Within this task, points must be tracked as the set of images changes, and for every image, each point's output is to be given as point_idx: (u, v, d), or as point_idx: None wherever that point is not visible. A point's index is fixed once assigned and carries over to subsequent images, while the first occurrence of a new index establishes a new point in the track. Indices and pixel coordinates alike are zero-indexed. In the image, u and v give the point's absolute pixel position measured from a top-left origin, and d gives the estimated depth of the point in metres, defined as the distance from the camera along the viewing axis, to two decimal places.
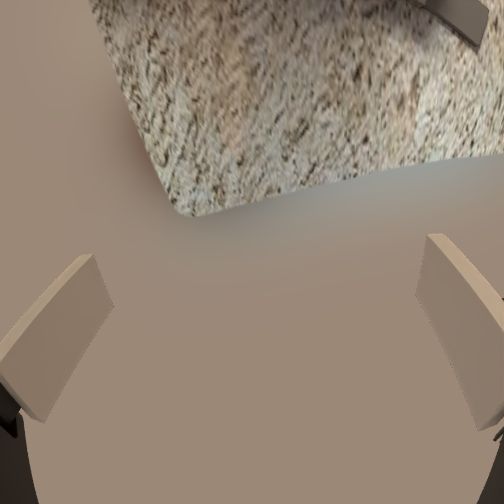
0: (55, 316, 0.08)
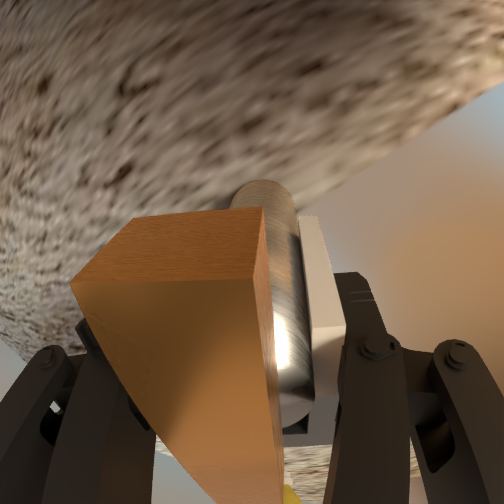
0: None
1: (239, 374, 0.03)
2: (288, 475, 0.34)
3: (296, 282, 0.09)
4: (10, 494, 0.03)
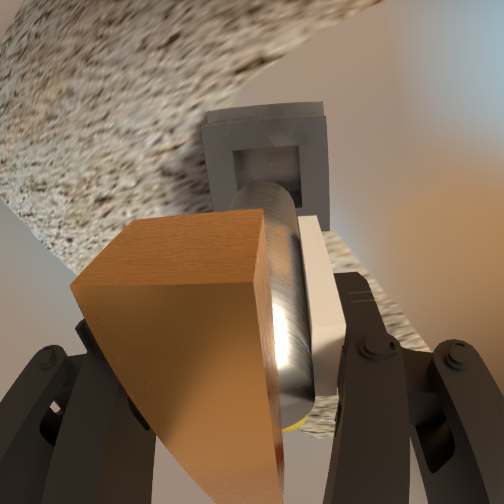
0: None
1: (240, 377, 0.03)
2: None
3: (296, 283, 0.09)
4: (10, 494, 0.03)
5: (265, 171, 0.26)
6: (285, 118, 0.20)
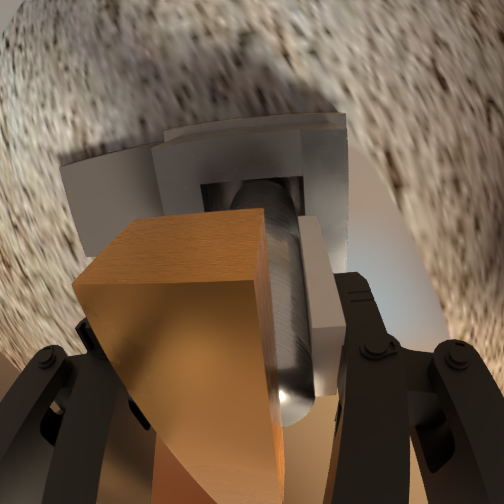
0: None
1: (240, 374, 0.03)
2: None
3: (296, 282, 0.09)
4: (10, 494, 0.03)
5: None
6: (345, 250, 0.15)
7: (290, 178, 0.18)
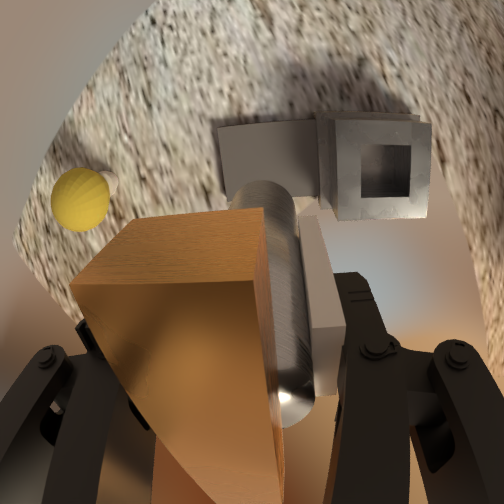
0: None
1: (239, 376, 0.03)
2: None
3: (296, 282, 0.09)
4: (10, 494, 0.03)
5: (368, 156, 0.27)
6: (428, 189, 0.24)
7: (389, 150, 0.27)
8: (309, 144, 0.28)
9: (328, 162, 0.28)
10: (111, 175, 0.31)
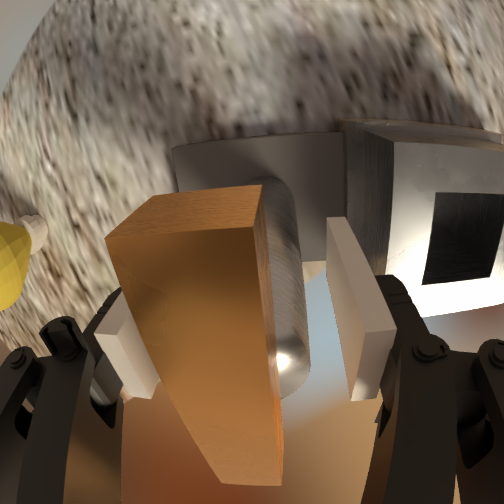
0: None
1: (241, 316, 0.04)
2: None
3: (293, 264, 0.09)
4: None
5: None
6: None
7: None
8: (331, 176, 0.17)
9: (363, 210, 0.16)
10: (35, 222, 0.19)
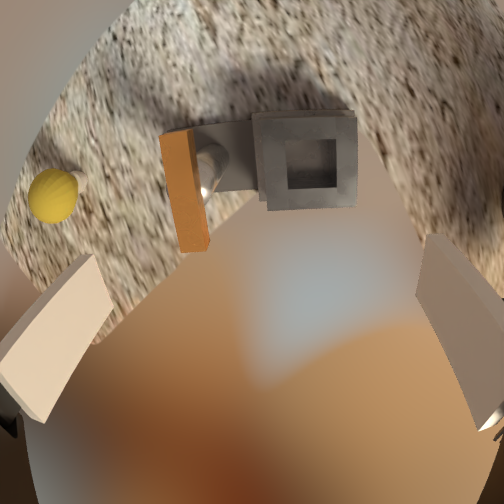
0: (55, 316, 0.08)
1: (185, 150, 0.19)
2: None
3: (212, 164, 0.25)
4: None
5: (302, 151, 0.31)
6: (356, 179, 0.28)
7: (323, 145, 0.30)
8: (247, 142, 0.32)
9: None
10: (81, 174, 0.34)
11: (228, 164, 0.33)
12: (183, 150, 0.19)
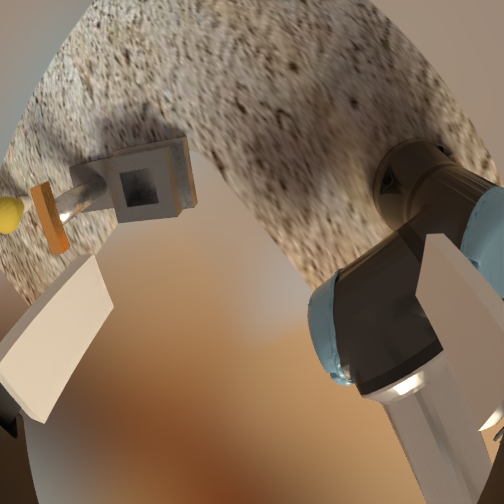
0: (55, 316, 0.08)
1: (41, 196, 0.28)
2: (29, 206, 0.45)
3: (72, 197, 0.34)
4: None
5: (148, 176, 0.40)
6: (172, 195, 0.36)
7: None
8: None
9: None
10: (26, 198, 0.44)
11: (105, 189, 0.42)
12: (40, 196, 0.29)
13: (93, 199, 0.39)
